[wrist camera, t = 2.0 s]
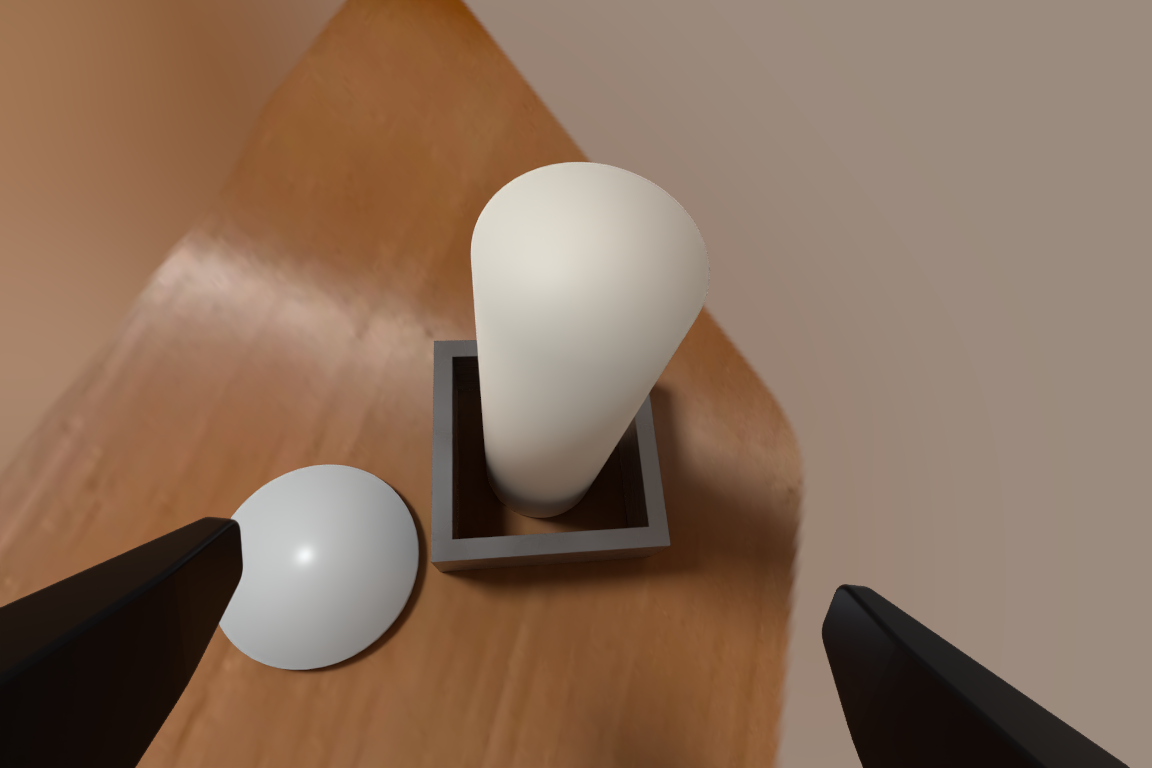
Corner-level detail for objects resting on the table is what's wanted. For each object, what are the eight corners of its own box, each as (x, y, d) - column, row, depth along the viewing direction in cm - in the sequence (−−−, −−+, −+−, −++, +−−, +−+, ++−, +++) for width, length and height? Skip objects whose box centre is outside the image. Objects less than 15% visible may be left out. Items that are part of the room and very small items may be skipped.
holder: (647, 557, 21) (670, 545, 18) (440, 572, 20) (430, 562, 17) (624, 372, 23) (641, 337, 21) (441, 376, 22) (434, 340, 20)
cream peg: (598, 514, 21) (729, 361, 9) (487, 521, 20) (472, 367, 9) (588, 410, 23) (689, 164, 11) (484, 414, 22) (469, 158, 10)
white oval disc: (417, 658, 19) (415, 659, 18) (199, 679, 18) (193, 680, 17) (421, 463, 21) (419, 460, 21) (230, 472, 20) (225, 469, 20)
